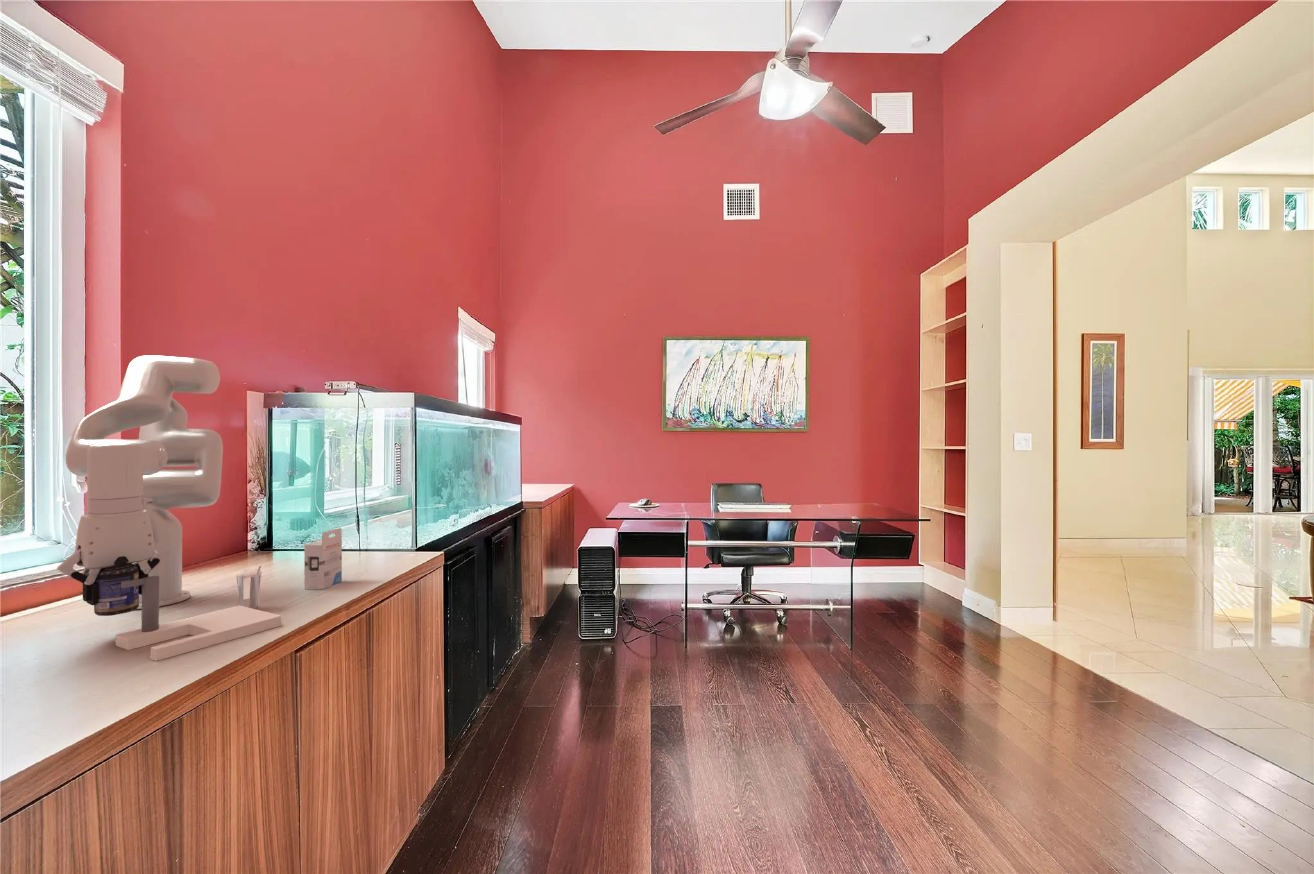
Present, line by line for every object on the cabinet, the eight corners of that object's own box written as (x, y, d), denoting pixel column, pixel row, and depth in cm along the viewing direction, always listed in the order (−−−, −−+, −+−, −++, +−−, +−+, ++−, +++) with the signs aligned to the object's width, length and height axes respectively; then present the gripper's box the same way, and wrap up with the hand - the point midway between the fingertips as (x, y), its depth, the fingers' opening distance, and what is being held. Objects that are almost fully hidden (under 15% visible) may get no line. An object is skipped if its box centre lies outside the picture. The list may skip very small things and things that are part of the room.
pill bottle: (143, 609, 104) (143, 554, 103) (99, 619, 98) (99, 560, 98) (132, 603, 107) (132, 549, 106) (89, 612, 101) (88, 555, 101)
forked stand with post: (115, 645, 98) (116, 580, 99) (239, 614, 116) (240, 559, 117) (155, 661, 91) (156, 591, 91) (281, 625, 109) (281, 567, 109)
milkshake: (250, 613, 117) (250, 568, 117) (230, 611, 118) (231, 567, 118) (269, 607, 122) (269, 563, 122) (250, 605, 123) (250, 562, 123)
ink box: (324, 581, 145) (324, 527, 145) (342, 581, 145) (342, 527, 145) (303, 590, 136) (303, 532, 136) (322, 590, 136) (322, 532, 136)
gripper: (164, 498, 111) (164, 583, 112) (42, 510, 96) (43, 608, 96) (181, 502, 108) (182, 589, 108) (58, 514, 92) (59, 616, 93)
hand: (116, 597), depth 102 cm, fingers closed on pill bottle, 6 cm apart
